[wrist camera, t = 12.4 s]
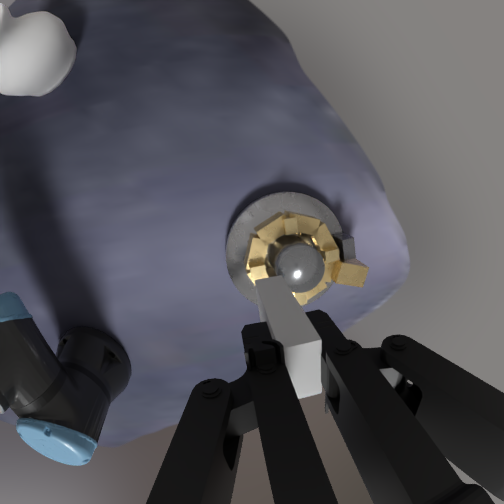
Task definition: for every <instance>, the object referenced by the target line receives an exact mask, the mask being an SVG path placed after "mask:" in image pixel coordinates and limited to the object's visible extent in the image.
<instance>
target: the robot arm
mask: <svg viewBox="0 0 504 504" xmlns="http://www.w3.org/2000/svg"><path fill="white" fill-rule="evenodd" d="M255 287H256V294H257V300H258V307H259V314H260V320H261V322H260V323H254V324H249V325H245V326H244V328H243V330H242V332H241V333H242V339H243V344H244V350H245V352H244V354H245V359H246V364H247V370H246V372H245V373H244V375H243V376H242V377H240V378H239V379H237V380H235V381H233V382H230V383H228V382H226V381H224V380H222V379H216V378H214V379H207V380H204V381H201V382H200V383H199V384H197V385H196V386H195V387H194V389H193V390H192V392H191V395H190V397H189V400H188V402H187V405H186V407H185V409H184V412H183V414H182V417H181V419H180V422H179V424H178V426H177V429H176V432H175V434H174V436H173V439H172V441H171V444H170V446H169V448H168V451H167V453H166V456H165V458H164V461H163V463H162V466H161V468H160V470H159V473H158V475H157V478H156V480H155V483H154V485H153V488H152V490H151V493H150V495H149V498H148V500H147V502H146V504H230V503H231V498H232V493H233V488H234V483H235V478H236V473H237V467H238V462H239V458H240V452H241V447H242V442H243V434H245V433H247V432H249V431H251V430H254V429H256V428H258V427H259V432H260V436H261V441H262V447H263V451H264V456H265V461H266V466H267V471H268V476H269V480H270V485H271V490H272V494H273V498H274V503H275V504H338V502H337V499H336V497H335V494H334V491H333V489H332V486H331V484H330V481H329V479H328V476H327V473H326V471H325V468H324V465H323V463H322V460H321V458H320V455H319V452H318V450H317V447H316V444H315V442H314V439H313V437H312V434H311V431H310V429H309V426H308V424H307V421H306V418H305V415H304V413H303V410H302V407H301V405H300V402H299V399H300V398H304V397H308V396H312V395H316V394H320V393H322V385H323V387H324V389H325V391H326V394H325V413H328V408H329V409H330V411H331V413H332V416H333V418H334V420H335V422H336V424H337V426H338V428H339V430H340V432H341V435H342V437H343V439H344V441H345V443H346V445H347V447H348V450H349V451H350V454H351V456H352V458H353V460H354V462H355V464H356V466H357V469H358V471H359V473H360V475H361V477H362V479H363V482H364V484H365V486H366V488H367V490H368V492H369V495H370V497H371V499H372V501H373V503H374V504H495V503H494V502H493V501H492V499H491V498H490V496H489V495H488V493H487V492H486V491H485V490H484V489H483V488H482V487H484V488H485V489H486V490H488V491H489V492H490V493H492V494H493V495H494V496H496V497H497V498H499V499H501V500H502V501H504V393H503V392H501V391H499V390H497V389H496V388H494V387H493V386H491V385H489V384H488V383H486V382H484V381H483V380H481V379H479V378H478V377H476V376H474V375H472V374H471V373H469V372H467V371H466V370H464V369H462V368H460V367H459V366H457V365H455V364H454V363H452V362H450V361H449V360H447V359H445V358H444V357H442V356H440V355H439V354H437V353H435V352H434V351H432V350H430V349H429V348H427V347H425V346H423V345H422V344H420V343H418V342H417V341H415V340H413V339H411V338H410V337H407V336H405V335H392V336H389V337H386V338H385V339H384V340H383V342H382V345H381V347H378V348H362V347H361V346H360V345H359V344H358V343H357V342H355V341H352V340H347V339H346V338H345V337H344V335H343V334H342V333H341V331H340V330H339V329H338V327H337V326H336V325H335V323H334V322H333V321H332V320H331V318H330V317H329V315H328V314H327V313H325V312H323V311H321V310H315V311H310V312H306V313H305V312H304V310H303V309H302V307H301V306H300V304H299V302H298V301H297V299H296V298H295V296H294V294H293V293H292V291H291V290H290V288H289V287H288V285H287V283H286V282H285V280H284V279H283V277H282V275H280V276H274V277H269V278H263V279H257V280H255ZM32 318H33V317H32V315H31V314H29V312H28V311H27V309H26V308H25V306H24V304H23V302H22V301H21V299H20V297H19V296H18V295H17V294H15V293H13V292H6V293H3V294H1V295H0V413H1V414H3V413H4V412H5V411H6V410H7V409H8V408H9V407H10V408H11V409H12V410H13V411H14V413H15V414H16V415H17V416H18V417H19V419H18V420H17V425H16V429H17V432H18V433H19V435H20V437H21V438H22V439H23V440H24V441H25V442H26V443H27V444H28V445H29V446H31V447H32V448H33V449H35V450H36V451H38V452H39V453H41V454H43V455H44V456H46V457H48V458H50V459H53V460H55V461H58V462H60V463H64V464H68V465H75V466H76V465H84V464H86V463H88V462H89V461H90V459H91V457H92V454H93V452H94V449H95V448H96V447H97V443H98V440H99V436H100V433H101V430H102V427H103V424H104V421H105V418H106V415H107V412H108V408H109V406H110V403H111V402H112V401H113V400H114V399H115V398H116V397H117V396H118V395H119V394H120V393H121V392H123V391H124V389H125V388H126V386H127V385H128V382H129V379H130V376H131V365H130V362H129V359H128V357H127V355H126V353H125V352H124V350H123V349H122V348H121V347H120V345H119V344H118V343H117V342H116V341H114V340H113V339H112V338H111V337H109V336H108V335H106V334H105V333H103V332H101V331H99V330H96V329H93V328H89V327H76V328H73V329H71V330H69V331H68V332H67V333H66V334H65V335H64V336H63V337H62V339H61V340H60V342H59V344H58V348H57V352H56V355H55V354H54V353H53V351H52V350H51V348H50V347H49V345H48V344H47V342H46V340H45V339H44V337H43V336H42V334H41V332H40V331H39V329H38V327H37V326H36V324H35V322H34V320H33V319H32ZM407 380H410V381H411V382H413V385H412V384H409V383H408V382H407ZM445 457H446V458H447V459H448V460H449V461H451V462H452V463H453V464H454V465H456V466H457V467H458V468H459V469H461V470H462V471H463V472H464V473H466V474H467V475H468V476H469V477H471V478H472V479H473V480H475V481H476V482H477V483H479V484H480V485H481V486H482V487H481V486H479V485H477V484H465V483H463V482H462V480H461V479H460V478H459V477H458V475H457V474H456V472H455V471H454V469H453V468H452V467H451V465H450V464H449V462H448V461H447V460H446V458H445Z"/></svg>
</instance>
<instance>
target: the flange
mask: <svg viewBox="0 0 504 504" xmlns="http://www.w3.org/2000/svg"><path fill="white" fill-rule="evenodd" d="M285 210H286V211H291V212H295V213H300V214H304V215H309V216H313V217H315V218H317V219H320V221H321V222H323V223H325V225H326V226H327V228H328V230H329V232H330V234H331V236H332V237H333V239H334V241H335V243H336V245H337V247H338V249H339V257H340V258H341V259H343V260H344V261H346V260H350V259H354V258H356V255H355V244H354V237H352V236H350V235H348V234H346V233H344V232H342V229H341V226H340V224H339V222H338V220H337V218H336V217H335V215H334V214H333V213H332V211H331V210H330V209H329V208H328V207H327V206H326V205H324V204H323V203H322V202H320V201H319V200H317V199H315V198H313V197H311V196H308V195H305V194H301V193H297V192H286V191H283V192H275V193H271V194H267V195H265V196H262V197H260V198H258V199H256V200H255V201H253V202H252V203H250V204H249V205H248V206H246V207H245V208H244V209H243V210H242V211H241V213H240V214H239V215H238V216H237V218H236V219H235V221H234V223H233V224H232V226H231V229H230V231H229V234H228V237H227V242H226V262H227V268H228V271H229V275H230V277H231V279H232V281H233V283H234V285H235V286H236V288H237V289H238V290H239V291H240V293H241V294H242V295H243V296H244V297H246V298H247V299H248V300H250V301H251V302H253V303H254V304H256V305H258V300H257V294H256V287H255V285H254V283H253V282H252V281H251V279H250V278H249V276H248V275H247V273H246V269H245V264H244V259H245V255H246V250H247V245H248V241H249V236H250V233H254V234H257V233H256V231H255V230H254V227H256V226H257V225H259V224H260V223H262V222H264V221H265V220H267V219H268V218H270V217H271V216H273V215H274V214H276V213H277V212H279V211H280V212H282V213H283V214H284V212H285ZM264 264H265V267H266V272H267V273H268V275H269V276H270V277H274V276H280V275H282V277H283V279H284V280H285V282H286V283H287V285H288V287H289V288H290V290H291V291H292V292H295V293H303V292H307V291H310V290H311V289H313V288H314V287H316V286H317V285H318V284H319V283H320V281H321V280H322V278H323V275H324V271H325V263H324V260H323V257H322V256H321V254H320V253H319V252H318V251H317V248H316V246H315V245H314V243H313V241H312V239H311V238H310V236H309V234H306V233H301V232H299V233H294V234H289V235H286V234H283V235H282V236H280V237H279V238H277V239H276V240H274V241H273V242H271V243H270V244H269V245H268V249H267V253H266V257H265V262H264ZM333 283H334V281H333V280H332V279H331V283H330V282H325V284H326V285H327V287H326V288H325V289H324V290H322V291H321V292H319V293H318V294H316V295H315V296H313V297H312V298H310V299H309V300H307V304H310V303H311V302H313V301H315V300H316V299H318V298H319V297H320V296H322V295H323V294H324V293H325V292H326V291H327V290H328V289H329V288H330V287H331V285H332V284H333ZM307 304H304V305H300V306H301V307H303V306H305V305H307Z"/></svg>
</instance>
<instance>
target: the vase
mask: <svg viewBox="0 0 504 504" xmlns="http://www.w3.org/2000/svg"><path fill="white" fill-rule="evenodd" d="M76 52H77V48H76V45H75V42H74V40H73V39H72V38H71V37H70V35H69V34H68V31H67V29H66V27H65V25H64V23H63V21H62V20H61V19H60V18H58V17H56V16H55V15H53V14H51V13H49V12H45V11H40V12H33V13H28V14H25V15H23V16H20V17H18V18H14V17H12V16H11V14H10V12H9V9H8V7H7V6H6V5H4V4H2V3H0V93H1V94H4V95H13V96H28V95H30V96H37V97H41V96H43V95H46V94H48V93H51V92H52V91H53V90H54V89H56V88H57V87H58V86H59V85H61V84H62V82H63V81H64V80H65V78H66V77H67V76H68V74H69V73H70V71H71V69H72V67H73V65H74V62H75V60H76Z"/></svg>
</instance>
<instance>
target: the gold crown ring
mask: <svg viewBox="0 0 504 504" xmlns="http://www.w3.org/2000/svg"><path fill="white" fill-rule="evenodd" d="M254 230H255V231H256V233H257V234H254V233H250V236H249V241H248V245H247V250H246V255H245V259H244V264H245V269H246V273H247V275H248V276H249V278H250V279H251V281H252V282H253V283H254V285H255V280H257V279H263V278H269V277H270V276H269V275H268V273H267V272H266V267H265V264H264V262H265V257H266V253H267V249H268V245H269V244H270V243H271V242H273V241H274V240H276V239H277V238H279V237H280V236H282V235H283V234H286V235H289V234H294V233H299V232H301V233H306V234H309V236H310V238H311V239H312V241H313V243H314V245H315V246H316V248H317V251H318V252H319V253H320V254H321V256H322V257H323V260H324V263H325V271H324V275H323V278H322V280H321V281H320V283H319V284H318V285H317V286H316V287H314V288H313V289H311V290H310V291H307V292H303V293H295V292H292V293H293V294H294V296H295V298H296V299H297V301H298V302H299V304H300V305H304V304H307V300H309V299H310V298H312V297H313V296H315V295H316V294H318V293H319V292H321V291H322V290H324V289H325V288H326V287H327V285H326V284H325V282H330V283H331V279H332V280H333V281H334V282H335V283H337V284H344V285H351V286H357V287H363V285H364V282H365V279H366V276H367V272H368V269H369V267H367V266H366V265H364V264H363V263H361V262H360V261H358V260H357V259H355V258H354V259H350V260H346V261H344V260H343V259H341V258H340V257H339V249H338V247H337V245H336V243H335V241H334V239H333V237H332V236H331V234H330V232H329V230H328V228H327V226H326V225H325V223H323V222H321V221H320V219H317V218H315V217H313V216H309V215H304V214H300V213H295V212H291V211H286V210H285V212H284V214H283V213H282V212H280V211H279V212H277V213H276V214H274V215H273V216H271V217H270V218H268V219H267V220H265V221H264V222H262V223H260V224H259V225H257V226H256V227H254Z"/></svg>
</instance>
